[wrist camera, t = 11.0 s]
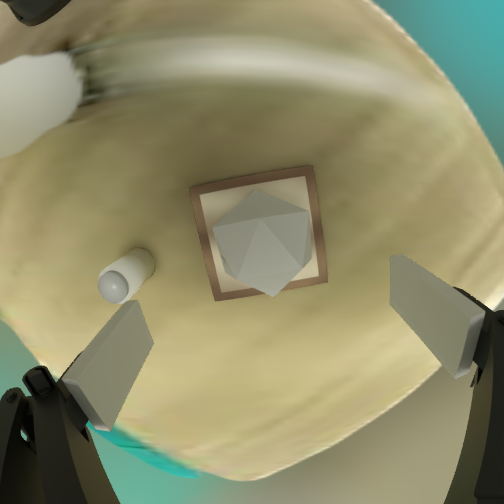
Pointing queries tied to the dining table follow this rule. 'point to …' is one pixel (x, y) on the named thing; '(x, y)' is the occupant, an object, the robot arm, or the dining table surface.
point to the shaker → (126, 276)
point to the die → (264, 242)
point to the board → (234, 192)
